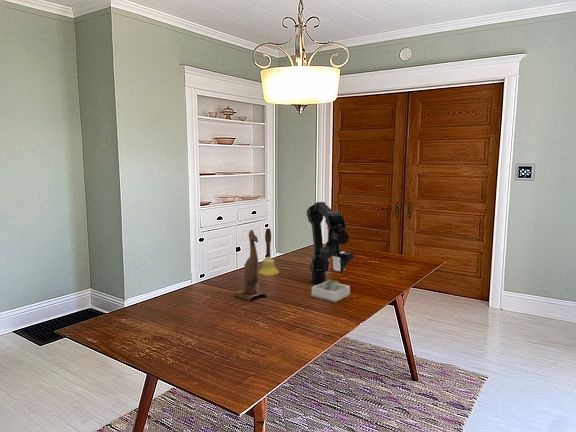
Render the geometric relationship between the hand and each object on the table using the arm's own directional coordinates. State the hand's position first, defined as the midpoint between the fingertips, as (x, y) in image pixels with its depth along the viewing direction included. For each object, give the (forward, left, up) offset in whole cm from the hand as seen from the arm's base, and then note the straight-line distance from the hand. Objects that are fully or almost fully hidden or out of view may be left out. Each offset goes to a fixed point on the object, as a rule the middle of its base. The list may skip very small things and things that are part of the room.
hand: (333, 271), depth 206 cm
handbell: (-49, +9, -11) cm, 51 cm away
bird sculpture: (-28, -27, -11) cm, 41 cm away
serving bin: (+1, -3, -11) cm, 11 cm away
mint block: (+1, -3, -10) cm, 11 cm away
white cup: (-21, +39, -11) cm, 45 cm away
